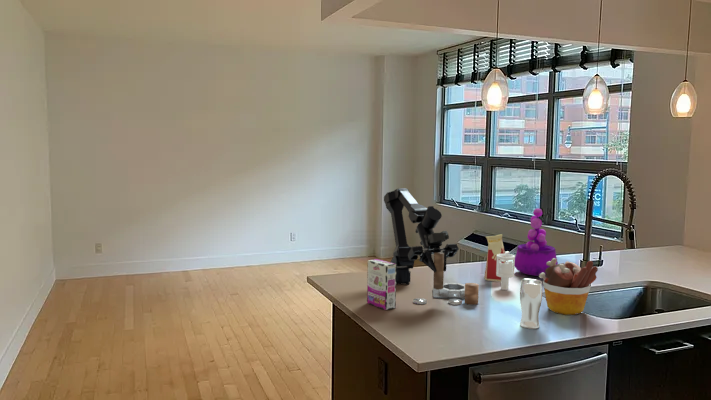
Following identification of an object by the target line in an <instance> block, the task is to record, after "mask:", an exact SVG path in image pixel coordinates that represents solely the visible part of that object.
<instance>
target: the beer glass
mask: <svg viewBox="0 0 711 400" xmlns="http://www.w3.org/2000/svg"><path fill="white" fill-rule="evenodd" d="M542 300H543V280H542V281H541V280H540V279H534V278H522V279H521V281H520V288H519V301H520V303H519V304H520V308H521V318H520V321H519V322H520V323H519V325H520V327H521V328H524V329H529V330H534V329H538V328H540V321H539V317H540V310H541V306H542Z"/></svg>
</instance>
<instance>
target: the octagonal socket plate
mask: <svg viewBox="0 0 711 400" xmlns="http://www.w3.org/2000/svg"><path fill="white" fill-rule="evenodd" d="M432 296H433V298H432V299H441V300H442V299H444V300H449V299H460V300H465V284H463V283H457V282H445V283H443V289H434V288H433V287H432Z"/></svg>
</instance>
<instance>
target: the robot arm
mask: <svg viewBox="0 0 711 400" xmlns="http://www.w3.org/2000/svg"><path fill="white" fill-rule="evenodd" d="M383 202H384V204H385V208H386V209H387V211H388V212H389V213H390V215H391V216H390V217H391V223H392V229H393V235H394V241H395V248H394V250H393V252H392V254H393V255H392V256H393V257H392V259H391V260H390V261H389V262H390V263H394V264H396V285H409V284H410V282H411V277H412V275H411V270H410V269H412V270H413V269H414V265H415V262H416V260H418V258H419V262H422V264H423V263H424V265H426V266H427V267H428V268H429V269H430V270H431V271H432V272H433V273H434V272H436V267H435V264H434V258H433V257H432V255H434V253H435V252H442V253H444V272H447V258H454V257H455V255H456V254H457V252H458V251H459V249H460V248H459V246H458V244H457V243H447V244H446V245H445V246H444V247H442V246H443V243H444V242H446V241H447V240H449V239H450V236H449V233H448V230H442V231H440V232H434V229H435V228H436V227H437V225H438V223H440V220H441V219H442V217H443V216H442V213H441V211H439V209H437V208H436V207H435V208H434V206H433V205H429V206H425V205H422V204H419V203H418V202H417V200H416V199H415V198H414V197H413V195H412V194H411V193H410V191H409V189H408V188H406V187H403V188H402V187H401V188H399V187H398V188H396V189H394V190H392V191H389V192H386V194H385V195H383ZM404 208H405V209H406V210H407V211H408V218H409V220H410V222H411V223H412V224H417V225H416V228H415V233H416V234H418V236H419V238H420V242H419V244H420V245H415V246H409V244H408V240H407V233H406V228H405V222H404V216H403V209H404Z"/></svg>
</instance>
